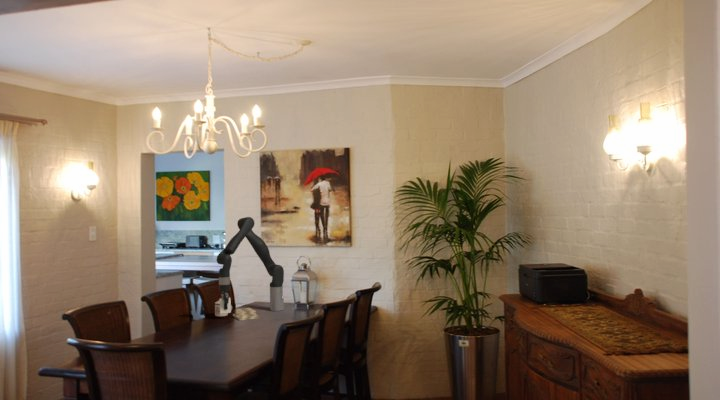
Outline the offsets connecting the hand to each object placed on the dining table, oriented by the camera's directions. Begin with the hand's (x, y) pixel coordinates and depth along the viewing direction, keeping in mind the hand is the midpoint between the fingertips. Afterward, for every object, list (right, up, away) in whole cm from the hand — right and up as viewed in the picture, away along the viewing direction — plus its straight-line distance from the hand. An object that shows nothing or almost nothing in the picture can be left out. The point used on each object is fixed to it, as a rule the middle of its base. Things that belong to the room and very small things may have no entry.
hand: (225, 309), depth 381 cm
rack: (+13, -6, +4) cm, 15 cm away
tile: (0, -3, 0) cm, 3 cm away
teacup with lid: (-4, -7, +13) cm, 16 cm away
